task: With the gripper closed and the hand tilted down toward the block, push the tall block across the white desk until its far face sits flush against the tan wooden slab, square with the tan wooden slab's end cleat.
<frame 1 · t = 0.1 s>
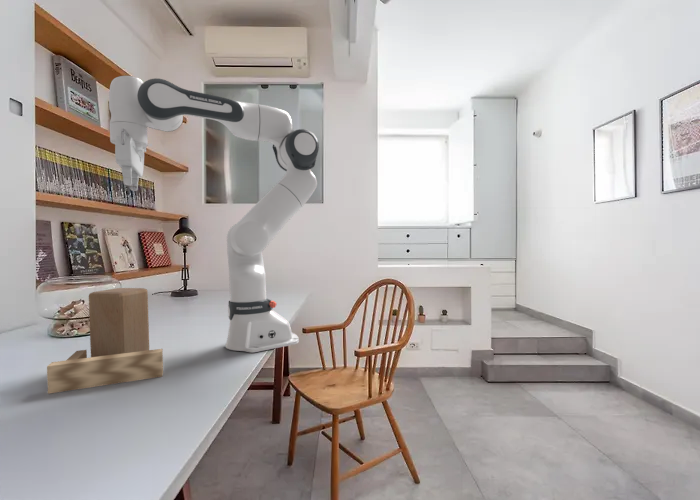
hand: (131, 187, 98), 48 cm above the table, tool pointing down, fingers open, 8 cm apart
block: (121, 364, 96), on the table
tan wooden slab: (109, 382, 82), on the table
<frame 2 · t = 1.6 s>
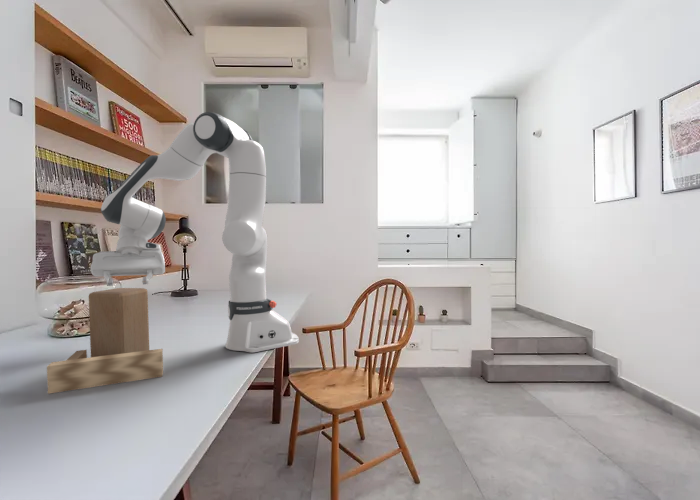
hand: (127, 283, 109), 20 cm above the table, tool tilted 45°, fingers open, 8 cm apart
nothing on the table moved.
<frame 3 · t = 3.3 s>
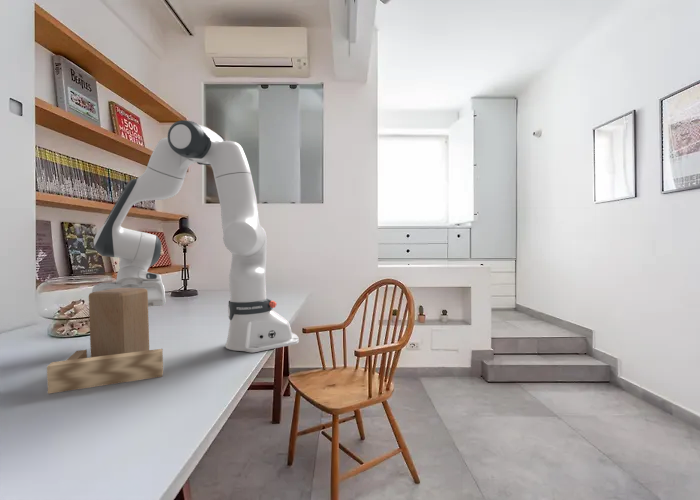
hand: (127, 317, 107), 10 cm above the table, tool tilted 45°, fingers closed
nothing on the table moved.
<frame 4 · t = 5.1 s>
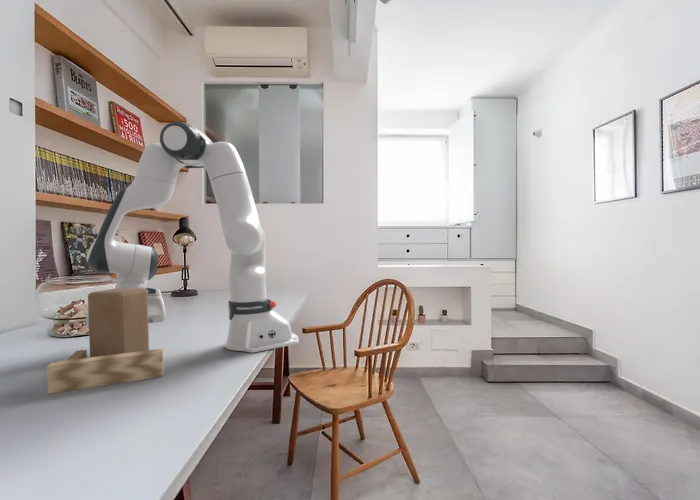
hand: (125, 336, 102), 6 cm above the table, tool tilted 45°, fingers closed
block: (121, 364, 95), on the table, touching gripper
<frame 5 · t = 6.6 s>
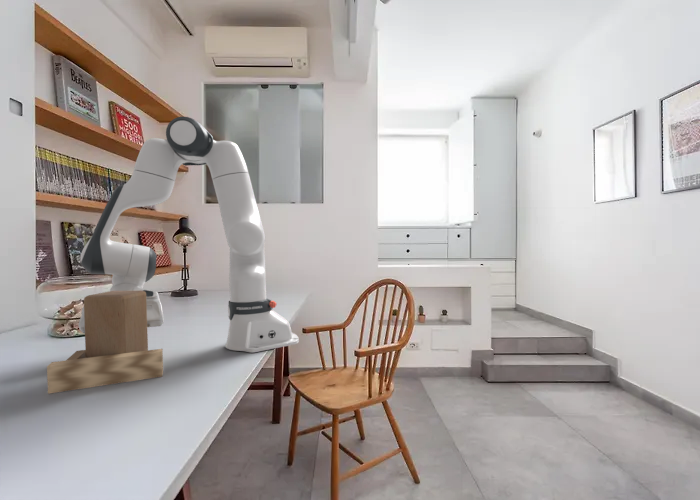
hand: (120, 341, 96), 6 cm above the table, tool tilted 45°, fingers closed
block: (119, 371, 90), on the table, touching tan wooden slab, gripper
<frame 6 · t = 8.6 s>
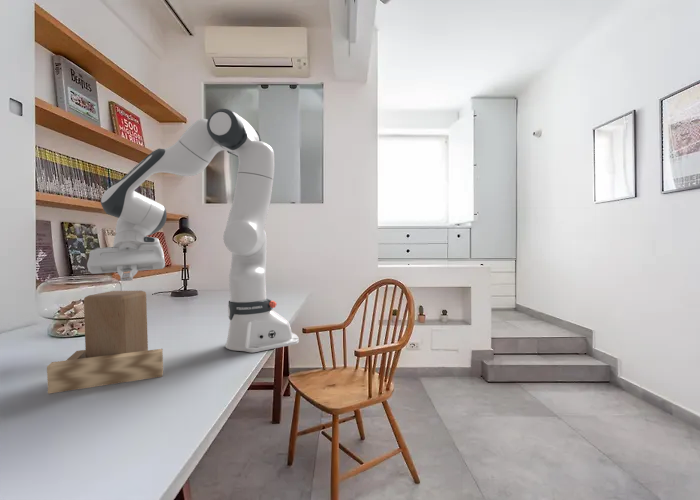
hand: (126, 279, 104), 22 cm above the table, tool tilted 45°, fingers closed
block: (119, 371, 90), on the table
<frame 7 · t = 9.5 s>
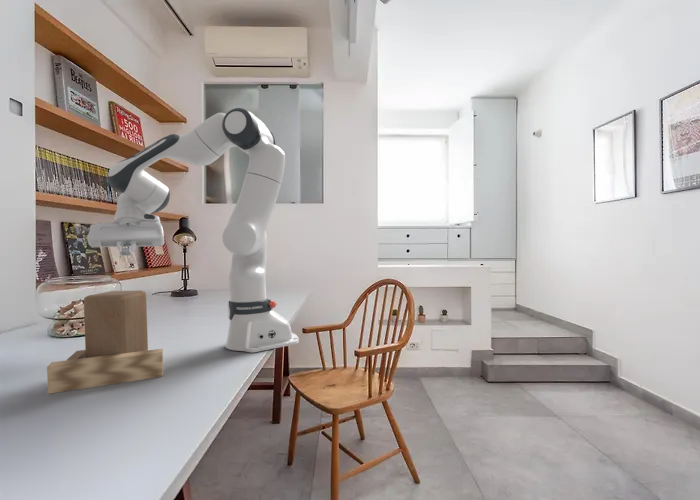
hand: (125, 254, 105), 29 cm above the table, tool tilted 45°, fingers closed
nothing on the table moved.
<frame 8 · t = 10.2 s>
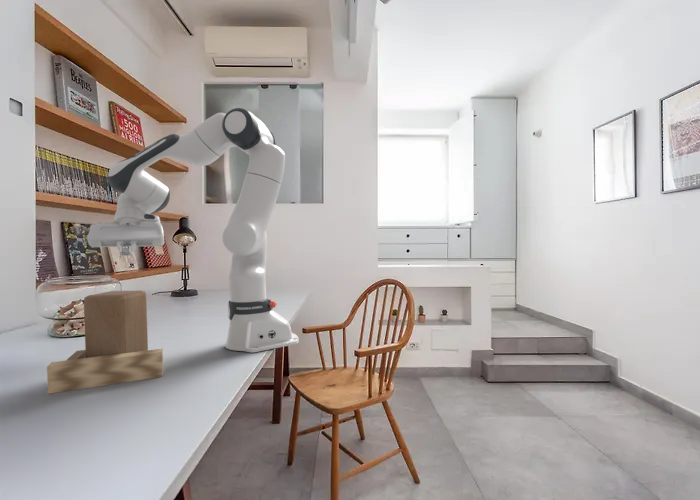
hand: (125, 254, 105), 29 cm above the table, tool tilted 45°, fingers closed
nothing on the table moved.
at the end: block 0.5 cm from the target spot on the tan wooden slab, point 0.0 cm above the tan wooden slab's base; block tilted 0° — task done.
